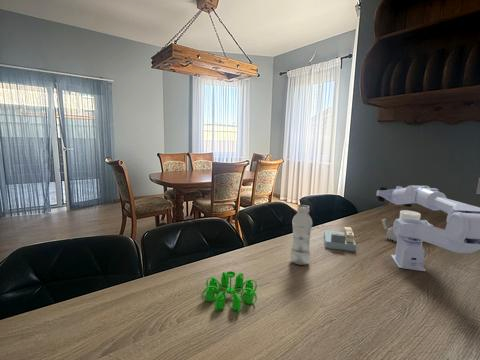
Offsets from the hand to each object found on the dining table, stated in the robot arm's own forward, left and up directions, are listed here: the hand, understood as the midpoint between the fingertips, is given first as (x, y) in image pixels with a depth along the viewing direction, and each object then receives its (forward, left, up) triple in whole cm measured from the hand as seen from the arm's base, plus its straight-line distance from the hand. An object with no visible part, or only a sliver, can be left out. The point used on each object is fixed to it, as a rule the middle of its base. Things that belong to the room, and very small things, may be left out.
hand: (387, 197), depth 108 cm
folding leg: (-10, +15, -16) cm, 24 cm away
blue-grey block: (-10, +18, -18) cm, 28 cm away
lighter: (+3, -3, -19) cm, 19 cm away
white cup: (+12, -13, -19) cm, 26 cm away
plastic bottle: (-32, +33, -19) cm, 49 cm away
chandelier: (-57, +50, -19) cm, 78 cm away
